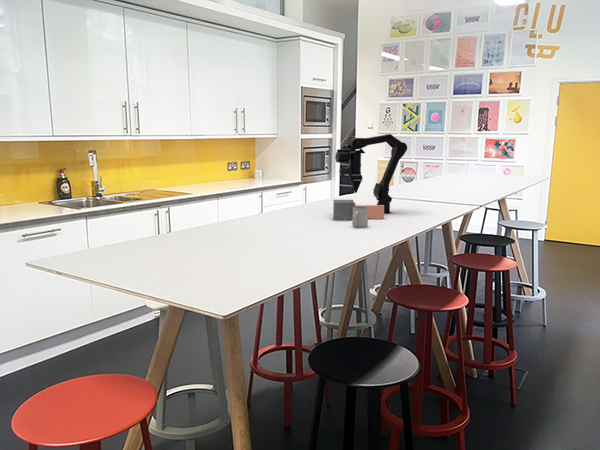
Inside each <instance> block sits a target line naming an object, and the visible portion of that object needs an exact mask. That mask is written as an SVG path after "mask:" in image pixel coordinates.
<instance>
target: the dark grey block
mask: <svg viewBox="0 0 600 450" xmlns="http://www.w3.org/2000/svg"><path fill="white" fill-rule="evenodd" d="M332 202H333V207H332V208H333V211H332V213H333V214H332V219H333V221H352V220H353V207H354V205H357V204H356V202H354V199H333V201H332Z"/></svg>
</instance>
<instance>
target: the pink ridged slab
mask: <svg viewBox="0 0 600 450" xmlns="http://www.w3.org/2000/svg"><path fill="white" fill-rule="evenodd" d="M356 206H364V207H368V220H369V219H374V220H375V219H376V220H377V219H378V220H379V219H380V220H381V219H382V220H383V219H385V213H384V205H377V204H356V205H354V207H356Z"/></svg>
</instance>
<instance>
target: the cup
mask: <svg viewBox="0 0 600 450" xmlns="http://www.w3.org/2000/svg"><path fill="white" fill-rule="evenodd" d="M368 220H369V219H368V207H364V206H356V207H353V220H351V221H352V224H351V225H352V227H353V226H354V228H359V227H361V228H362V227H363V228H367V227H368V223H369V221H368ZM363 228H362V229H363Z"/></svg>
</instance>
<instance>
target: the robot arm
mask: <svg viewBox="0 0 600 450" xmlns="http://www.w3.org/2000/svg"><path fill="white" fill-rule="evenodd" d="M383 143H387V144H388V145H389V147H391V149H390V150H391V151H390V152H391V153H390V159H389V161H388V163H387V166H386V168H385V171H384V172H383V176H382V178H381V180H380V182H378V183H377V182H376V183H375V184H374V187H373V189H372V190H373V196H374V197H375V198H376V199H375V200H376V201H377V203H376V205H384V214H390V213H391V208H390V207H391V203H392V200H393V197H392V196H391V195H389V192H390V183H391V180H392V178H393V176H394V174H395V171H396V170H397V167H398V164H399V162H400V160H401V158H403V157H404V155H405V154H406V153H407V150H408V145H407V143H406V142H403V141H401V140H400V139H397V137H395V136H394V135H392V134H391V133H385V134H381V135H376V136H370V137H352V138H350V140H349V141H348V144H347V146H346V147H345V149H336V153H335V162H336V163H338V164H339V163H342V164H343V163H348V162H349V164H348V166H346V167H341V169H339V170H338V172H339V175H340V177H344V176H346V175H348V178H349V181H350V182H351V184H352V190H353V193H354V194H357V193H358V190H359V188H360V185H361V184H362V182H363V175H362V172H361V171H362V169H361V168H362V164H361V163H362V154H366V152H365V151H364V150H363V148H365V147H367V146H371V145H377V144H383Z"/></svg>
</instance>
